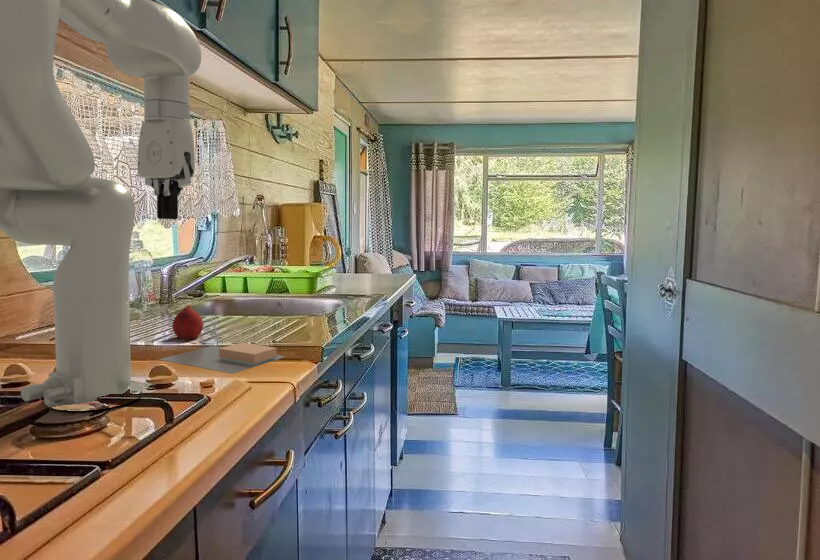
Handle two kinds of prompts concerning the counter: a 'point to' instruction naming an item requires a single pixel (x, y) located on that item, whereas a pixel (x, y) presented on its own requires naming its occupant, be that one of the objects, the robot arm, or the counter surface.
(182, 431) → the counter surface
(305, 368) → the counter surface
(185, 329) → the onion
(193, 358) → the slate board
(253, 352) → the tile
